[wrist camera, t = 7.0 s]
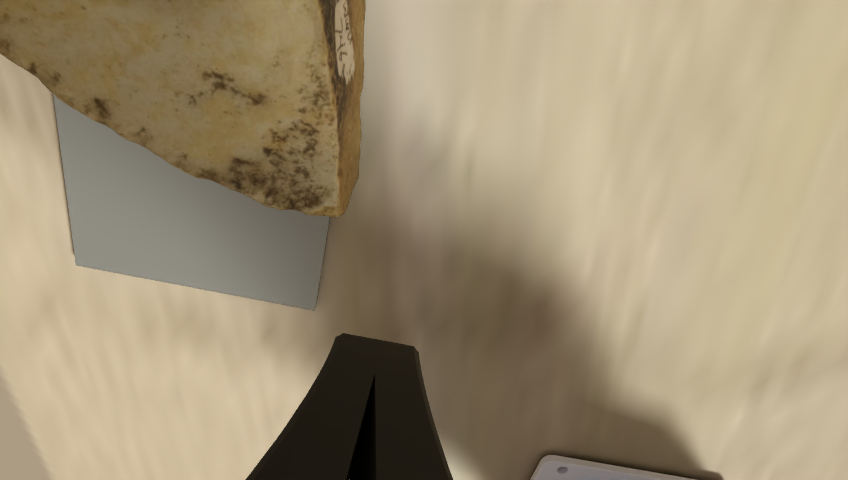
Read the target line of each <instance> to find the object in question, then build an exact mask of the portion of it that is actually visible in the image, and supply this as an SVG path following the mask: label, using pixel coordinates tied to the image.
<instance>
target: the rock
mask: <svg viewBox="0 0 848 480" xmlns="http://www.w3.org/2000/svg"><path fill="white" fill-rule="evenodd" d="M364 21H365V0H0V53H1V54H2V55H3V56H5V57H6V58H8V59H9V60H11V61H12V62H14V63H15V64H17V65H19V66H20V67H22V68H24V69H25V70H27V71H28V72H30V73H32V74H33V75H35V76H36V77H38V79H39V80H40V81H41V82H42V83H43V84H44V85H45V86H46V87H47V88H48V89H49V90H50V91H51V92H52V93H53V94H54V95H55V96H56V97H57V98H58V99H60V100H61V101H63V102H64V103H66V104H67V105H69V106H70V107H72V108H73V109H75V110H77V111H79V112H81V113H82V114H84V115H86V116H87V117H89V118H90V119H92V120H94V121H96V122H98V123H101V124H103V125H105V126H107V127H109V128H111V129H112V130H114V131H115V132H116V133H117V134H118V135H120V136H121V137H123V138H125V139H126V140H128V141H131V142H134V143H137V144H139V145H141V146H143V147H144V148H146V149H148V150H150V151H151V152H153V153H154V154H155V155H157V156H159V157H161V158H162V159H164V160H165V161H166V162H168V163H169V164H170V165H172V166H174V167H176V168H178V169H180V170H182V171H184V172H185V173H187V174H189V175H192V176H194V177H196V178H201V179H207V180H211V181H214V182H216V183H218V184H220V185H222V186H224V187H226V188H228V189H230V190H233V191H237V192H240V193H242V194H244V195H246V196H248V197H250V198H252V199H253V200H255V201H257V202H259V203H261V204H262V205H264V206H266V207H271V208H276V209H278V210H296V211H300V212H303V213H304V214H306V215H314V216H328V217H338V216H340V215H343V213H344V212H345V210H346V208H347V206H348V203H349V199H350V196H351V193H352V190H353V188H354V186H355V183H356V181H357V179H358V173H359V158H360V140H361V128H360V127H361V120H360V96H361V92H362V87H363V77H364V58H363V47H364Z"/></svg>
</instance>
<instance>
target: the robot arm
mask: <svg viewBox="0 0 848 480" xmlns="http://www.w3.org/2000/svg"><path fill="white" fill-rule="evenodd" d="M349 479H350V480H453V478H452V475H451V473H450V470H449V467H448V464H447V461H446V458H445V455H444V452H443V449H442V446H441V443H440V440H439V437H438V434H437V431H436V427H435V424H434V420H433V417H432V414H431V410H430V406H429V402H428V398H427V395H426V391H425V386H424V382H423V377H422V372H421V367H420V361H419V353H418V351H417V350H416V349H415V347H414V346H409V345H404V344H398V343H393V342H388V341H382V340H377V339H372V338H366V337H361V336H355V335H350V334H345V333H343V334H341V335H339V336H337V337H336V338H335V341H334V344H333V346H332V349H331V351H330V353H329V355H328V358H327V360H326V362H325V364H324V366H323V367H322V369H321V371H320V373H319V375H318V376H317V378H316V380H315V382H314V383H313V385H312V387H311V388H310V390H309V392H308V393H307V395H306V396H305V398H304V399H303V401H302V402H301V404H300V405H299V407H298V409H297V410H296V412H295V413H294V415H293V416H292V418H291V419H290V421H289V422H288V424H287V425H286V427H285V428H284V429H283V431H282V432H281V434H280V435H279V436H278V438H277V439H276V441H275V442H274V443H273V444H272V446H271V447H270V448H269V450H268V451H267V452H266V454H265V455H264V456H263V458H262V459H261V460H260V462H259V463H258V464H257V466H256V467H255V468H254V470H253V471H252V472H251V473H250V475H249V476H248V477H247V479H246V480H349ZM530 480H696V479H690V478H684V477H679V476H673V475H667V474H661V473H655V472H650V471H644V470H638V469H632V468H626V467H621V466H615V465H609V464H603V463H597V462H592V461H586V460H580V459H574V458H568V457H563V456H557V455H547V456H545V457H543V458H542V459H541V461H540V463H539V464H538V466H537V468H536V470H535V472H534V474H533V476H532V477H531V479H530Z"/></svg>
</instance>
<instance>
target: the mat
mask: <svg viewBox="0 0 848 480" xmlns="http://www.w3.org/2000/svg"><path fill="white" fill-rule="evenodd" d="M53 97H54V105H55V112H56V120H57V127H58V135H59V142H60V150H61V157H62V165H63V172H64V179H65V187H66V194H67V202H68V209H69V217H70V224H71V232H72V239H73V247H74V254H75V262H76V265H77V266H82V267H87V268H92V269H98V270H103V271H108V272H113V273H119V274H124V275H129V276H134V277H140V278H145V279H150V280H156V281H161V282H166V283H171V284H177V285H182V286H187V287H192V288H198V289H203V290H208V291H213V292H219V293H224V294H229V295H234V296H240V297H245V298H250V299H256V300H261V301H266V302H271V303H277V304H282V305H287V306H292V307H298V308H303V309H308V310H313V311H315V308H316V303H317V297H318V290H319V284H320V278H321V271H322V265H323V258H324V252H325V246H326V239H327V233H328V227H329V220H330V217H328V216H314V215H306V214H304V213H303V212H300V211H296V210H278V209H276V208H271V207H266V206H264V205H262V204H261V203H259V202H257V201H255V200H253V199H252V198H250V197H248V196H246V195H244V194H242V193H240V192H237V191H233V190H230V189H228V188H226V187H224V186H222V185H220V184H218V183H216V182H214V181H211V180H207V179H201V178H196V177H194V176H192V175H189V174H187V173H185V172H184V171H182V170H180V169H178V168H176V167H174V166H172V165H170V164H169V163H168V162H166V161H165V160H164V159H162V158H161V157H159V156H157V155H155V154H154V153H153V152H151V151H150V150H148V149H146V148H144V147H143V146H141V145H139V144H137V143H134V142H131V141H128V140H126V139H125V138H123V137H121V136H120V135H118V134H117V133H116V132H115V131H114V130H112V129H111V128H109V127H107V126H105V125H103V124H101V123H98V122H96V121H94V120H92V119H90V118H89V117H87V116H86V115H84V114H82V113H81V112H79V111H77V110H75V109H73V108H72V107H70V106H69V105H67V104H66V103H64V102H63V101H61V100H60V99H58V98H57V97H56V96H55V95H54V94H53Z"/></svg>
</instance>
